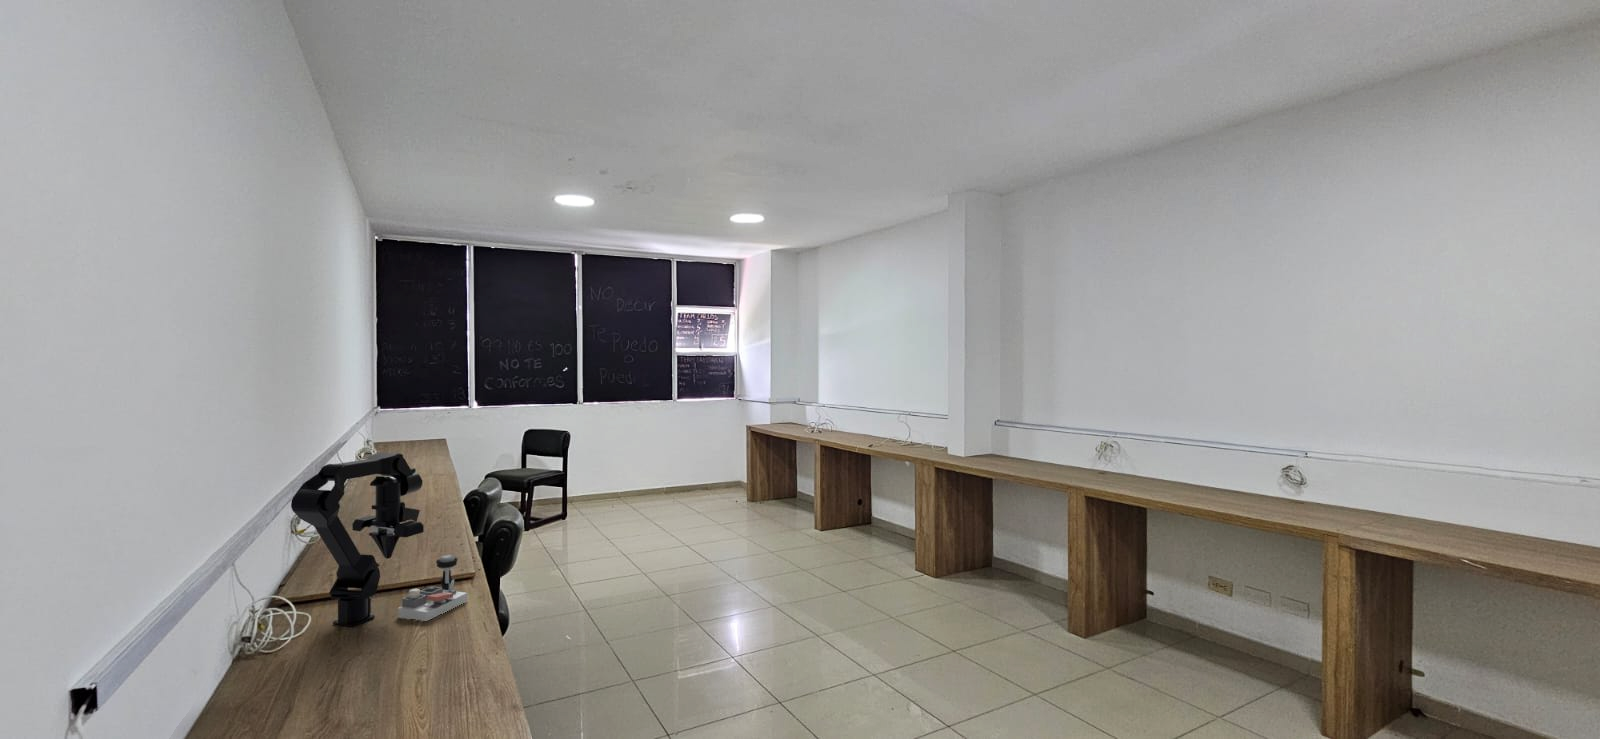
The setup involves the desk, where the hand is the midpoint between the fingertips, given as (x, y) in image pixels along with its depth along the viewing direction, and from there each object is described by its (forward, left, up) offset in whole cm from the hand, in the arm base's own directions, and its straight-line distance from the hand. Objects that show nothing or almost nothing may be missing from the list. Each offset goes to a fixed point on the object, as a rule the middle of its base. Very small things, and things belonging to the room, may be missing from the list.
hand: (388, 558), depth 184 cm
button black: (+1, -13, -9) cm, 16 cm away
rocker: (-1, -18, -8) cm, 20 cm away
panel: (0, -15, -12) cm, 19 cm away
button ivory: (-4, -13, -8) cm, 15 cm away
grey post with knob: (+12, -8, -12) cm, 19 cm away
